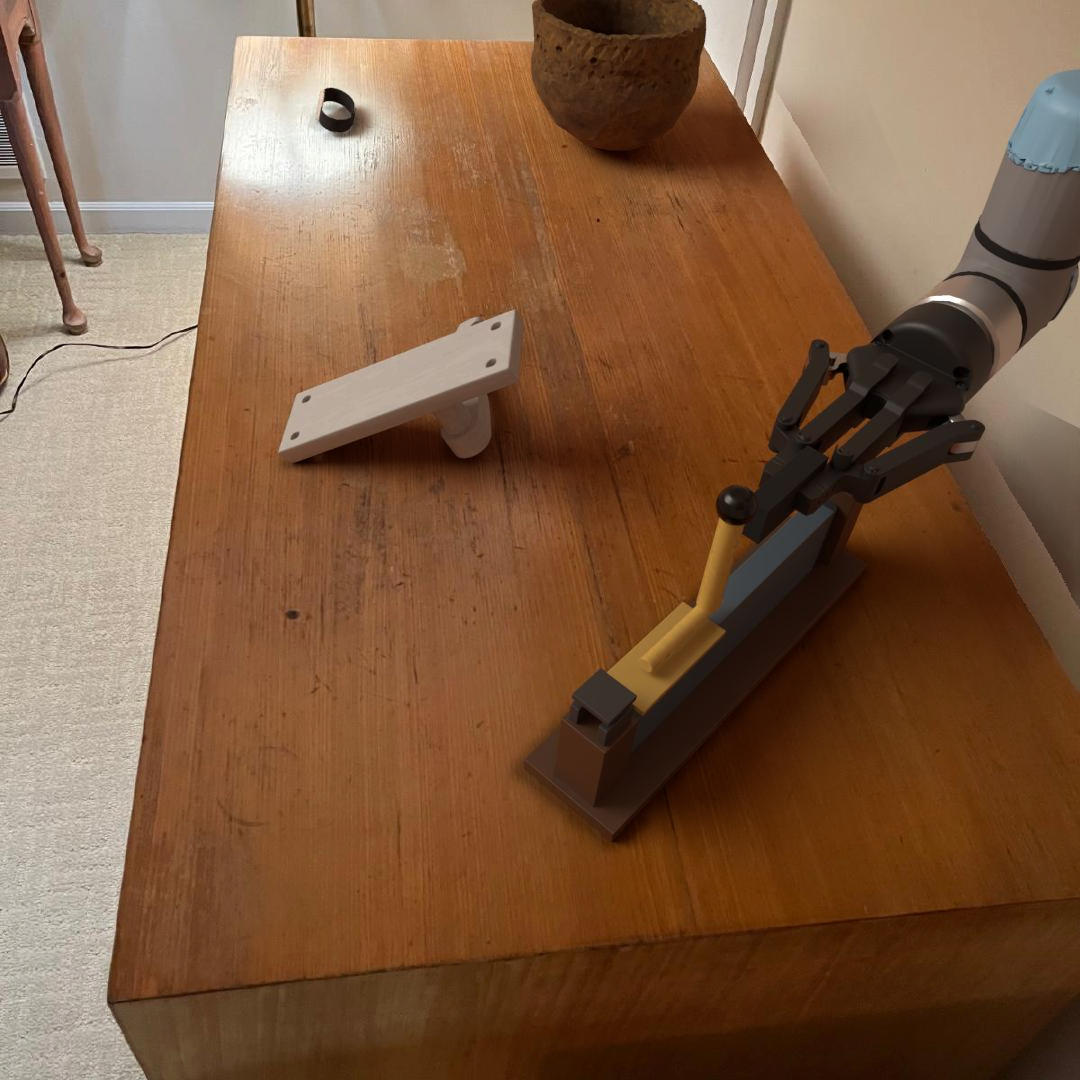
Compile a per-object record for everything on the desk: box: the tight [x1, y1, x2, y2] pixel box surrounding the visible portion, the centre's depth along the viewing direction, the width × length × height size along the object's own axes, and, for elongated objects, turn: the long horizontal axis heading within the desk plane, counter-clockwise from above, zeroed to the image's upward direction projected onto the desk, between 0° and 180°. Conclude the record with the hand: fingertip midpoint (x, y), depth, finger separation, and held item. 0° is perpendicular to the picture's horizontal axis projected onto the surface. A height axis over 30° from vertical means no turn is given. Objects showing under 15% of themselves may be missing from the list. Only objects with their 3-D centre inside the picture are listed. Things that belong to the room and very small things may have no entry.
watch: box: [314, 87, 357, 134], centre depth 116 cm, size 8×5×4 cm, turn 6°
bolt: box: [639, 484, 758, 673], centre depth 56 cm, size 7×2×10 cm, turn 138°
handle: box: [277, 309, 524, 464], centre depth 82 cm, size 18×8×20 cm
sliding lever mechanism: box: [523, 492, 868, 843], centre depth 65 cm, size 29×7×9 cm, turn 138°
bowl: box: [530, 0, 707, 152], centre depth 113 cm, size 19×19×15 cm
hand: (752, 521), depth 58 cm, fingers closed
